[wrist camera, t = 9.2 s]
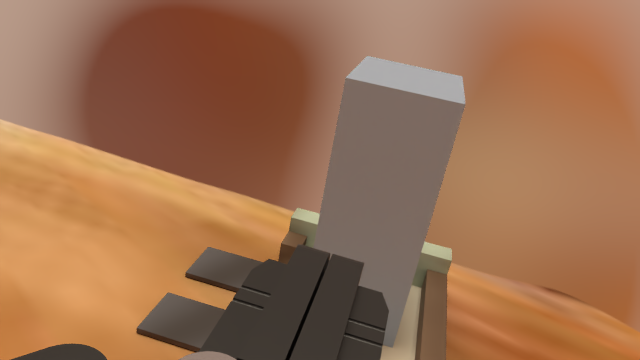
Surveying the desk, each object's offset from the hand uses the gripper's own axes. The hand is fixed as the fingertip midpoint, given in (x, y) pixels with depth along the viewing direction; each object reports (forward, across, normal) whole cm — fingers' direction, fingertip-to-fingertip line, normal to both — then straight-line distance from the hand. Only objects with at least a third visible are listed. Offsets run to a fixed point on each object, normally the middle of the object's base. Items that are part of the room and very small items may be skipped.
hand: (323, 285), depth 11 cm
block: (+14, -1, +11) cm, 18 cm away
